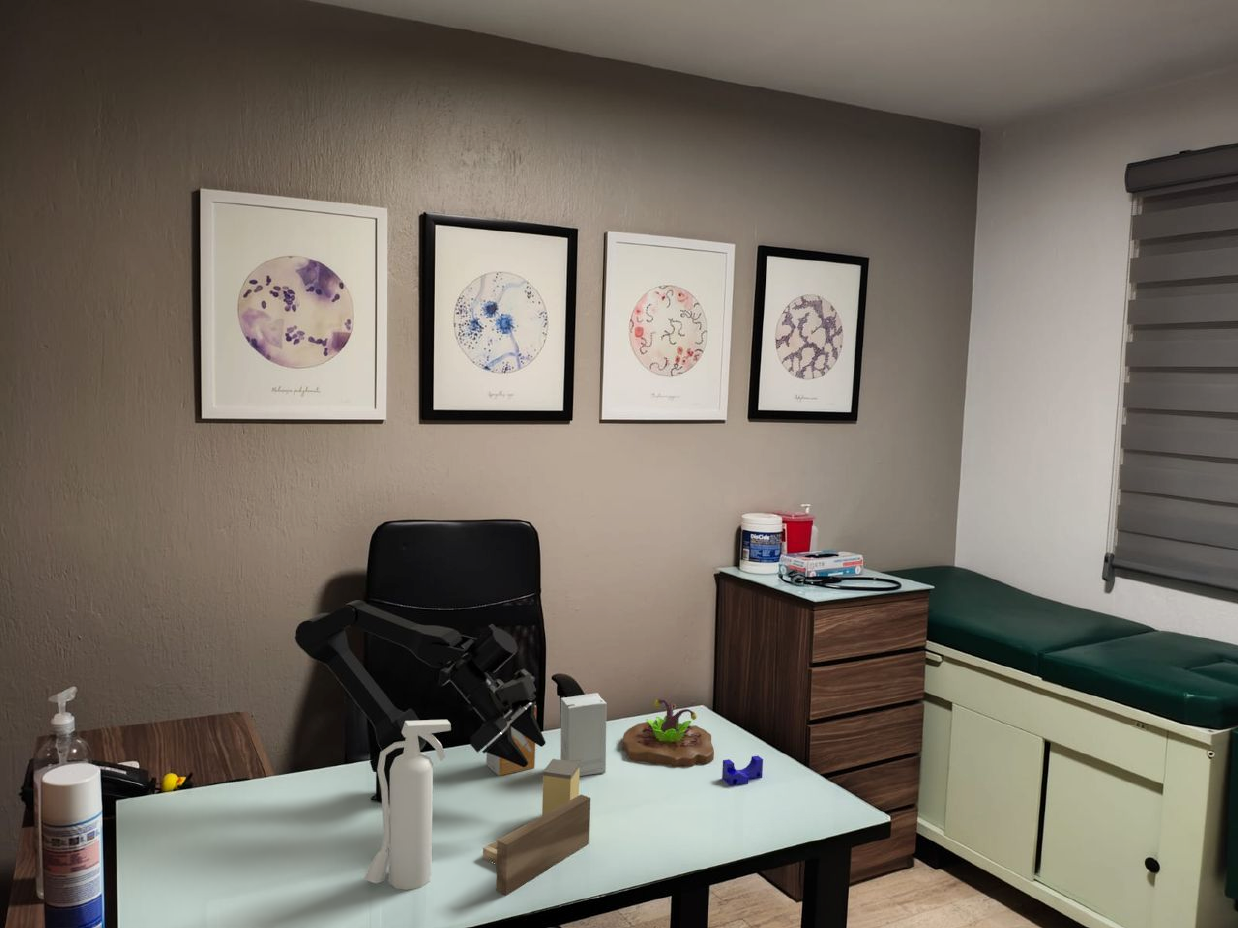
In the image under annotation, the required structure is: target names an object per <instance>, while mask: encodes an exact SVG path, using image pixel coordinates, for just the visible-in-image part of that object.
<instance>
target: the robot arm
mask: <svg viewBox="0 0 1238 928" xmlns="http://www.w3.org/2000/svg"><path fill="white" fill-rule="evenodd" d="M349 627H354V628H356V629H359V630H361V631H364V632H366V633H368V634H371V635H374V636H376V637H378V638H381V639H384V640H387V641H388V642H391V643H394V644H397V645H399V646H401V647H403V648H406V649H407V650H409V651H410V652H411V653H412V654H413V655H414V656H415V657H416V658H417V659H418V660H420V661H421V662H423V663H425V664H427V665H428V666H430V667H432V668H435V669H441V668H442V667H444V668H442V669H441V670H440V671H439V679H438V686H439V687H441V688H442V687H443V686H445V685H446V684H447V683H449V682H450V683H452V685H453V686H454V688H456V690H457V691H458V692H459V693H460V694H461V695H462V697H463V698H464V699H465V700H466V701H467V702H468V704H467V705H466V706H465V707H466V709H467V710H468V711H469V712H470V711H472V709H474V711H475V712H476V714H478V715H479V716H480V718H481V719H482V720H483V722H482V723H480V725H481V727H480V728H479V729H478V730H477V731H475V733H474V734H472V735H471V736H470V738H469V739H470V741H469V743H470V746H471V747H472V749H473V750H474V751H475V752H476V753H479V752H480V751H481V750H482V749H483V750H482V752H481V753H483V754H487V753H489V754H492V755H495V756H498V757H500V758H503V759H505V760H508V761H510V762H512V763H515V764H517V765H519V766H522V767H526V766H527V765H528V761H527V759H526V758H525V756H524V755H523V753H522V752H521V750H520V749H519V747H518V746H517V745H516V743H515V742H514V740H513V739H512V737H511V727H512V728H514V729H515V730H517V731H518V732H520V733H521V734H523V735H524V736H525V737H527V738H528V739H530V740H531V741H533V742H534V743H535V745H537V746H539V747H541V748H542V747H544V746H545V745H546V739H545V738H544V735H543V733H542V731H541V728H540V726H539V724H538V722H537V718H536V719H535V716H534V708H535V706H536V705H537V703H536V700H535V698H537V696H536V695H535V694H534V693H536V691H537V688H536V687H535V683H534V682H535V681H536V677H535V676H533V675H532V674H531V672H529V671H528V670H526V669H525V668H522V669H519V670H518V671H516V672H515V673H514V675H513V676H514V677H513V679H511V680H510V681H508V682H505V683H504V682H503V680H501V679H500V678H499V679H498V678H496V679H495V680H493V678H492V677H491V676H490V675H489V674H488V673H493V674H494V673H495V672H497V671H498V670H499V669H500V668H501V667H502V666H503V665H504V664H505V663H506V662H508V661H509V660H510V659H511V658H512V657H513V656H514V655H516V653H518V644H517V642H516V641H515V639H514V637H513V636H512V635H511V634H510V633H508V632H506V631H505V630H504V629H501V628H497V627H496V625H494V624H493V623H491V624H489V625H488V626H487V627H486V628H485V629H484V630H483V631H482V633H481V634H480V635H479V636H478V637H477V638H476V637H471V636H467V635H462V633H460V632H459V631H458V630H456V629H454V628H450V627H446V626H441V625H431V624H430V625H429V624H425V625H424V624H420V623H416V622H413V621H411V620H408V619H406V618H403V617H401V616H398V615H396V614H393V613H391V612H388V611H386V610H383V609H380V608H378V607H376V606H373V605H370V604H367V602H366V601H363V600H359V599H357V600H353V601H350V602H348V603H346V604H344V605H343V606H341V607H340V608H339V609H337V610H335V611H333V612H331V613H329V612H323V613H319V614H317V615H315V616H313V617H310V618H307V619H306V620H303V621H301V622H300V623H299V624H298V625H297V626H296V630H295V635H294V640H295V643H296V645H297V646H298V648H299V649H301V650H302V651H303V652H304V653H305V654H307V656H309V658H311V659H313V660H315V661H317V662H319V663H322V664H323V665H325V666H326V667H327V668H328V669H329V670H330V671H331V673H332V674H333V675H334V677H335V678H336V679H337V681H338V682H339V683H340V684H341V686H342V687H343V688H344V689H345V691H346V692H347V693H348V694H349V696H350V697H351V698H352V700H353V701H354V702H355V703H356V705H357V706H358V707H359V709H361V711H362V713H364V715H365V716H366V718H368V720H369V722H371V724H372V725H373V728H374V731H375V736H376V742H377V744H378V746H379V748H380V751H379V752H378V753H377V754H376V755H375V756H373V758H371V760H370V761H369V764H370V766H371V769H372V772H373V773H375V793H374V794H373V795H372V796H370V800H371V801H373V802H374V801H375V802H378V803H382V793H381V786H380V781H379V776H378V771H377V768H378V763H379V757H380V752H382V751H383V750H384V749H386V748H387V747H389V746H390V745H392V744H393V743H395V742H401V741H405V740H406V737H404V736H403V734H402V733H401V732H402V729H403V726H404V723H405V721H421V720H420V718H419V717H418V716H417V714H416V712H415V711H414V710H413V708H409V709H408V710H406V711H403V710H401V709H398V707H396V706H395V705H394V704H393V703H392V701H391V700H390V699H389V697H388V696H387V695H386V693H385V692H384V691H383V690H382V689H381V687H380V686H379V684H377V682H376V681H375V680H374V678H373V677H372V676H371V674H369V672H368V671H367V670H366V669H365V667H364V665H362V663H361V662H360V660H359V659H358V658H357V657H356V655H354V653H353V651H351V648H350V645H349V643H348V637H347V633H346V631H345V629H347V628H349ZM466 655H469V656H468V657H467V658H466V659H462V658H464V657H465V656H466ZM451 662H454V663H453V664H452V665H451V666H450V667H445V666H446V665H448V664H450V663H451ZM487 672H488V673H487ZM533 700H534V701H533ZM532 701H533V702H532ZM530 702H531V703H532V704H531V705H530V704H529V703H530ZM511 719H512V720H513V721H512V722H511V723H510V724H509V725H510V726H509V727H508V728H507V729H505V727H506V726H507V723H506V722H507V721H510V720H511ZM418 742H419V749H420V751H422V749H424V747H425V746H426V744H427V742H428V741H427V740H425V739H423V738H422V737H420V736H419V735H418ZM403 752H404V747H402V748H396V749H394V750H393V751H391V752H390V753H388V754H387V755H386V757H385V765H384V773H385V778H386V782H387V786H388V803H389V805H390V768H391V766H392V763H393V761H394V759H395V757H397V756H399V755H402V754H403Z"/></svg>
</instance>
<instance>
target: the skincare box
mask: <svg viewBox="0 0 1238 928" xmlns="http://www.w3.org/2000/svg"><path fill="white" fill-rule="evenodd" d="M607 705H608V703H607V702H606V701H605V700H604V699H603V698H602V697H601V696H600V694H599V693H598V692H597V693H596V692H595V693H590V694H587V693H586V694H582V695H581V694H579V695H574V696H567V697H564V696H563V697H560V744H559V745H560V759H559V760H566V761H573V762H580V770H579V777H582V776H590V775H596V774H602V773H606V772H607V771H606V770H607V767H606V766H607V763H606V761H607V707H608V706H607Z"/></svg>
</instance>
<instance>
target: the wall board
mask: <svg viewBox="0 0 1238 928" xmlns="http://www.w3.org/2000/svg"><path fill="white" fill-rule="evenodd" d="M590 818H591V797H589V796H587V795H584V794H581V793H580V794H579V796H577V797H575V798H574V799H572V800H570V801H568V802H566V803H564V804H563V805H561V806H559V807H557V808H555V809H554V810H552V811H550V812H548V813H546V814H544V815H543V816H542V815H541V816H539V817H537V818H536V819H533V820H532V821H530V822H528V823H526V824H525V825H524V824H523V825H522V826H520V827H519V828H516V829H515V830H513V831H510V832H509V833H508V834H506V835H503V836H502V837H500V838H498V839H497V840H495V841H493V842H491V843H488V844H487V845H485V846H483V847H482V859H483V858H484V859H483V860H485V859H486V861H487V860H488V861H487V862H490V861H491V862H490V863H492V862H493V863H492V864H494V863H495V864H494V865H496V864H497V865H496V885H495V886H496V887H495V889H496V890H495V891H496V892H497V893H499V894H502V895H503V896H508V895H509V894H511V893H512V892H514V891H517V890H518V889H519V888H521V887H522V886H524V885H526V884H527V883H528V882H530V881H532V880H533V879H535V878H536V876H537V877H538V876H540V875H542V874H543V873H544V871H545V872H546V871H548V870H549V869H551V868H552V867H554V866H556V865H557V864H559V863H560V862H562V861H564V860H565V859H567V858H568V857H570V856H572V855H573V854H575V853H576V852H578V851H580V850H581V849H582V848H584V847H586V846H587V845H588V844H590V822H591V820H590ZM569 855H570V856H569ZM539 874H540V875H539Z"/></svg>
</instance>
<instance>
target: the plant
mask: <svg viewBox="0 0 1238 928" xmlns="http://www.w3.org/2000/svg"><path fill="white" fill-rule="evenodd" d="M662 703H664V705H665V708H666V715H664V717H663V719H662V718H661V717H660V716H656V717H655V720H652V719H647V718H646V719H645V721H646V722H640V723H637V724H635V725H632V726H631V727H629V728H628V729H626V731H625V732H624V733H623V736H622V739H621V750H622V751H624V752H625V753H626V754H627V755H626V756H627V760H628V761H632V762H636V763H648V764H652V765H662V766H664V765H665V766H670V767H673V768H679V767H685V768H692V767H694V766H696V765H698V764H700V765H703V766H704V765H708V764H710V763H711V762H713V761H714V758H715V748H714V747H713V746H714V745H713V744H712V735H711V733H709V732H708V731H707V730H706V729H704V728H702V727H700V726H698V725H692V722H693V721H695V720H696V719H697V718H698V717H697V713H695V711H694V710H691V709H689V708H685V709H680V710H679V711H678V712H676V713H675V714H674V710H676V709H677V705H676V704H675V703H674V702H671V703H670V704H669V702H668V701H667V700H666V699H663V698H658V699H655V701H654V702H653V705H654V707H657V708H658V707H660V706H661V704H662ZM687 712H688V713H690V719H691V720H687V721H683V722H682V723H680V721H679V719H680V717H681V716H682V714H683V713H687Z"/></svg>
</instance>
